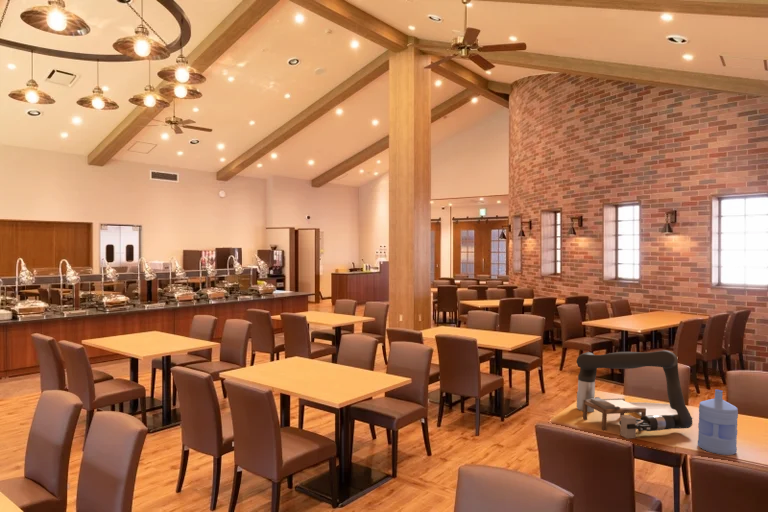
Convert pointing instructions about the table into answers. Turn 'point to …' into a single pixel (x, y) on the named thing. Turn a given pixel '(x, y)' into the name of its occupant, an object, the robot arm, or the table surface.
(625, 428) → the granite block
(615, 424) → the table surface
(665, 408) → the square plate
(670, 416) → the robot arm
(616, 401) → the trapdoor
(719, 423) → the water jug
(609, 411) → the frame
